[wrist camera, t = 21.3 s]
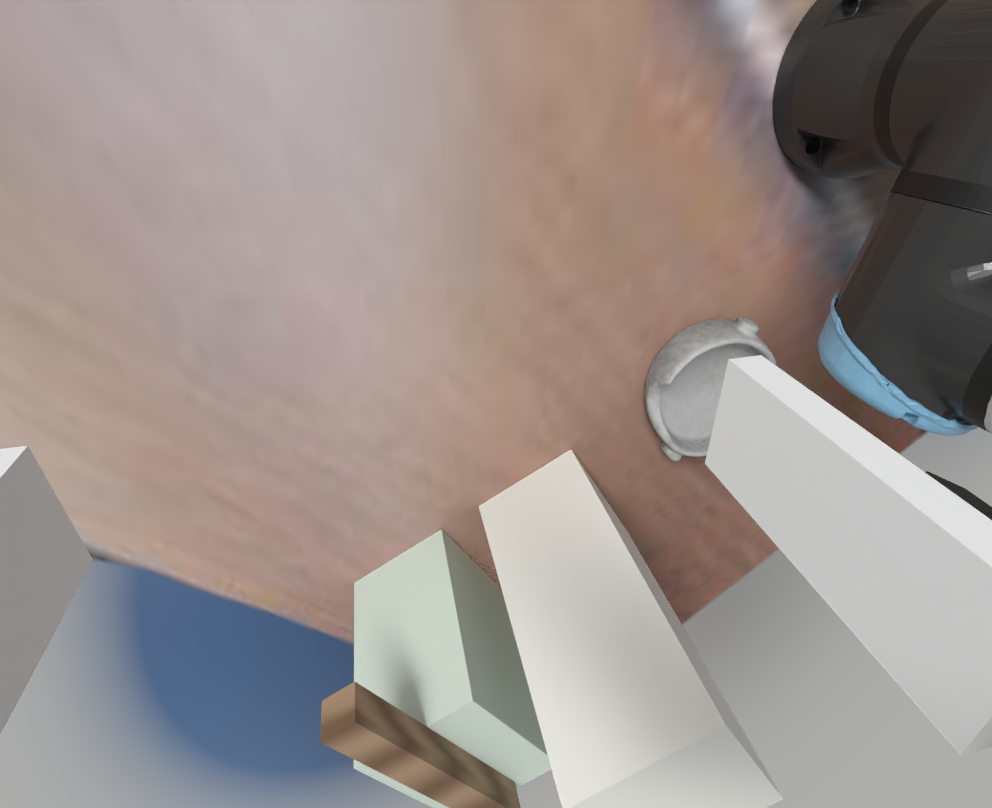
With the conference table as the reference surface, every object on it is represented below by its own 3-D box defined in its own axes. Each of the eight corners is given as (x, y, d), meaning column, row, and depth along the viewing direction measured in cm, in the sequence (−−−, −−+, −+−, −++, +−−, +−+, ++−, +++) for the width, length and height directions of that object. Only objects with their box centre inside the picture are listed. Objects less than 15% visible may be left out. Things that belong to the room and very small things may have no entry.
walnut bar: (322, 700, 41) (320, 742, 39) (354, 681, 41) (354, 721, 38) (488, 795, 54) (495, 831, 51) (514, 781, 54) (522, 816, 51)
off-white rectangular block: (478, 506, 61) (563, 811, 36) (571, 449, 60) (725, 724, 35) (544, 579, 70) (650, 866, 45) (627, 530, 68) (783, 798, 43)
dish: (657, 452, 63) (678, 479, 59) (616, 360, 55) (637, 384, 51) (772, 388, 62) (802, 412, 58) (746, 286, 54) (779, 305, 50)
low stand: (354, 582, 63) (353, 768, 47) (441, 529, 62) (472, 700, 45) (433, 644, 72) (457, 819, 55) (511, 598, 70) (559, 764, 54)
